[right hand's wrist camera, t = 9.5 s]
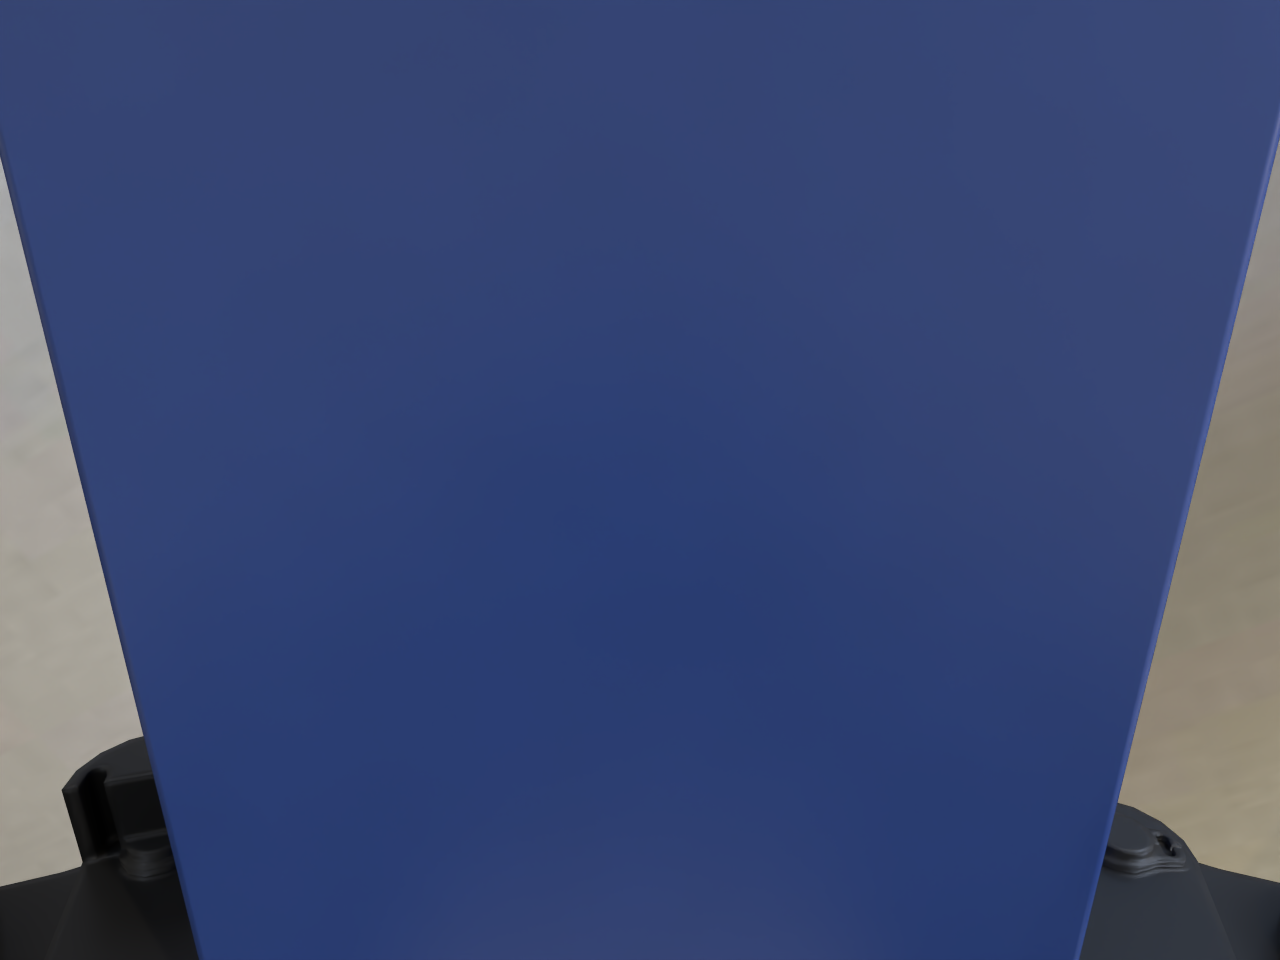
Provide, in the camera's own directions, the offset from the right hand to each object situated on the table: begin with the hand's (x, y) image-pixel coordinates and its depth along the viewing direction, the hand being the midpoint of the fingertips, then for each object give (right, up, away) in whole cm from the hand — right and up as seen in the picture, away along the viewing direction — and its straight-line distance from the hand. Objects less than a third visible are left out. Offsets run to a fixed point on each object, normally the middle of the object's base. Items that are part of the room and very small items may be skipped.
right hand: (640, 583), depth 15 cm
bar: (0, +7, -2) cm, 7 cm away
